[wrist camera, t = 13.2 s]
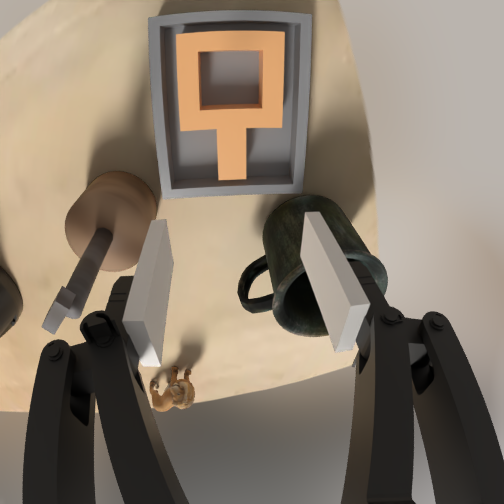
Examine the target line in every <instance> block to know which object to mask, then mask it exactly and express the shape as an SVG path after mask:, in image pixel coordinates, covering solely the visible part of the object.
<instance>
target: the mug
mask: <svg viewBox="0 0 504 504" xmlns="http://www.w3.org/2000/svg"><path fill="white" fill-rule="evenodd" d="M305 212H320V214H321V215H322V217H323V219H324V220H325V222H326V224H327V226H328V227H329V229H330V231H331V232H332V234H333V236H334V238H335V239H336V241H337V243H338V245H339V246H340V248H341V250H342V252H343V254H344V255H345V257H346V259H347V261H348V262H355V261H360V262H361V263H362V264H363V265H364V266H366V267H367V268H368V270H369V272H370V273H371V275H372V277H373V278H374V280H375V282H376V284H377V285H378V287H379V289H380V290H381V292H382V294H383V296H384V295H385V292H386V289H387V283H388V277H387V272H386V269H385V267H384V265H383V264H382V263H381V261H380V260H379V259H377V258H376V257H375V256H373V255H371V253H370V252H369V250H368V249H367V247H366V246H365V244H364V242H363V241H362V239H361V238H360V236H359V235H358V233H357V232H356V230H355V229H354V227H353V226H352V224H351V223H350V221H349V220H348V218H347V217H346V215H345V214H344V213H343V211H342V210H341V208H340V207H339V206H338V205H337V204H336V203H334V202H333V201H331V200H329V199H328V198H324V197H321V196H301V197H297V198H294V199H292V200H289V201H287V202H286V203H284V204H282V205H281V206H279V207H278V208H277V209H276V210H275V211H274V212H273V213H272V214H271V215H270V217H269V218H268V220H267V222H266V224H265V226H264V230H263V245H264V249H265V254H266V255H264V256H262V257H261V258H259V259H257V260H256V261H254V262H252V263H251V264H250V265H249V266H248V267H246V269H245V270H244V272H243V273H242V275H241V278H240V280H239V283H238V292H237V293H238V296H239V299H240V301H241V304H242V306H243V307H244V308H245V310H247V311H249V312H251V313H260V312H266V311H269V310H273V314H274V317H275V319H276V320H277V322H278V323H279V325H280V326H281V327H283V328H284V329H285V330H287V331H288V332H290V333H293V334H296V335H300V336H306V337H321V336H328V335H329V333H328V330H327V328H326V325H325V322H324V319H323V316H322V313H321V311H320V308H319V305H318V302H317V300H316V297H315V294H314V291H313V289H312V286H311V283H310V280H309V278H308V275H307V272H306V270H305V267H304V264H303V262H302V259H301V257H300V253H301V245H302V236H303V227H304V218H305ZM268 269H269V273H270V277H271V282H272V287H273V291H274V293H273V294H269V295H266V296H263V297H260V298H253V299H248V293H249V290H250V287H251V284H252V283H253V281H254V279H255V278H256V277H258V276H259V275H260V274H262V273H263V272H265V271H266V270H268Z"/></svg>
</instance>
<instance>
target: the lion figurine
mask: <svg viewBox="0 0 504 504" xmlns="http://www.w3.org/2000/svg"><path fill="white" fill-rule="evenodd" d="M171 369H172V378H171V383H169V384H168V386H167V387H166V389H165V392H164V393H163V395H162V396H160V395H159V394H158V391H157V390H154V389H153V388H154V386H155V385H156V383H155V382H150V393H151V394H152V403H153V407H154V408H155V409H156V410H157V411H167V410H169V409H170V408H171V407H173V406H177V407H178V408H179V409H186V408H188V407H190V406H191V405H192V403H193V402H194V397H195V391H194V387H193V386H192V383H190V381H189V375H191V371H189V370H186V371H185V373H184V379H179V380H177V374H178V368H177V367H172V368H171Z"/></svg>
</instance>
